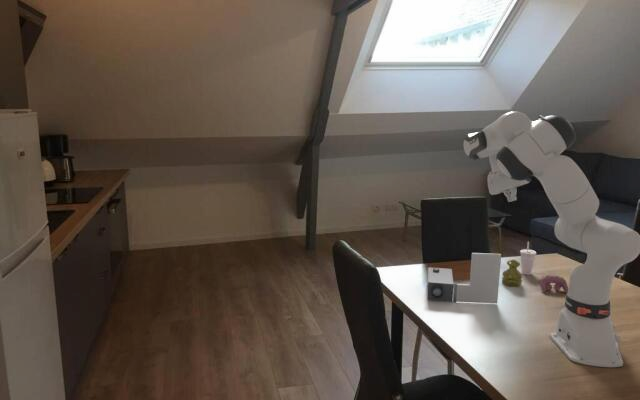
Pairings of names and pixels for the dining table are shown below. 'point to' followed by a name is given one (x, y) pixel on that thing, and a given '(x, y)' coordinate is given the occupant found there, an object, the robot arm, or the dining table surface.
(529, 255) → the smoothie
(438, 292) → the camera body
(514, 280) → the gold stepped round piece
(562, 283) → the video game controller
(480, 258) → the side door
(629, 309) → the dining table surface
